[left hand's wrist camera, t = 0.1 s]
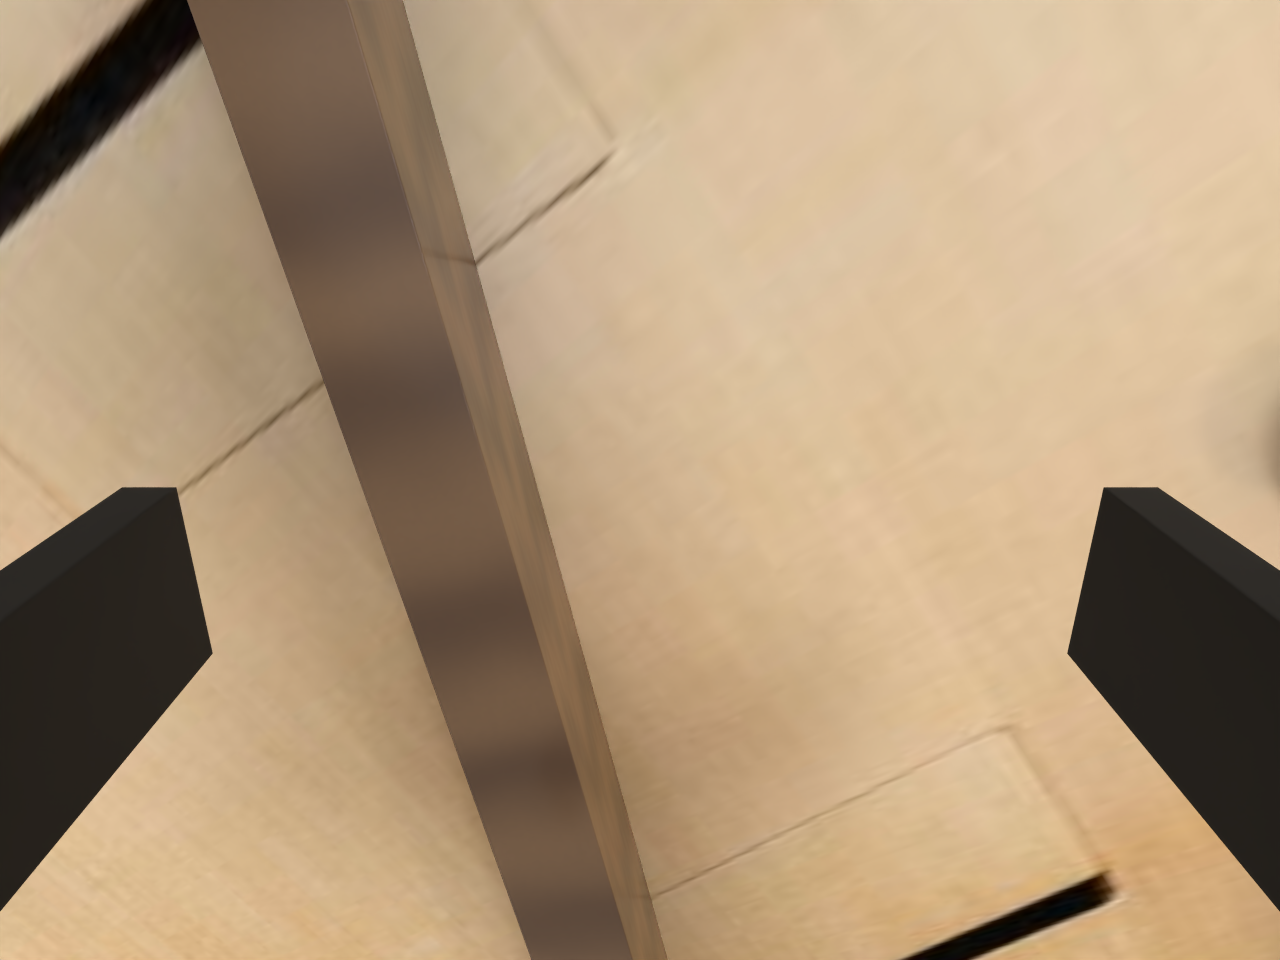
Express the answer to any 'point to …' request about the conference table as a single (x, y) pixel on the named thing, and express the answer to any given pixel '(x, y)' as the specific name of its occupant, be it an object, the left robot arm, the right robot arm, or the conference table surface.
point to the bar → (435, 443)
